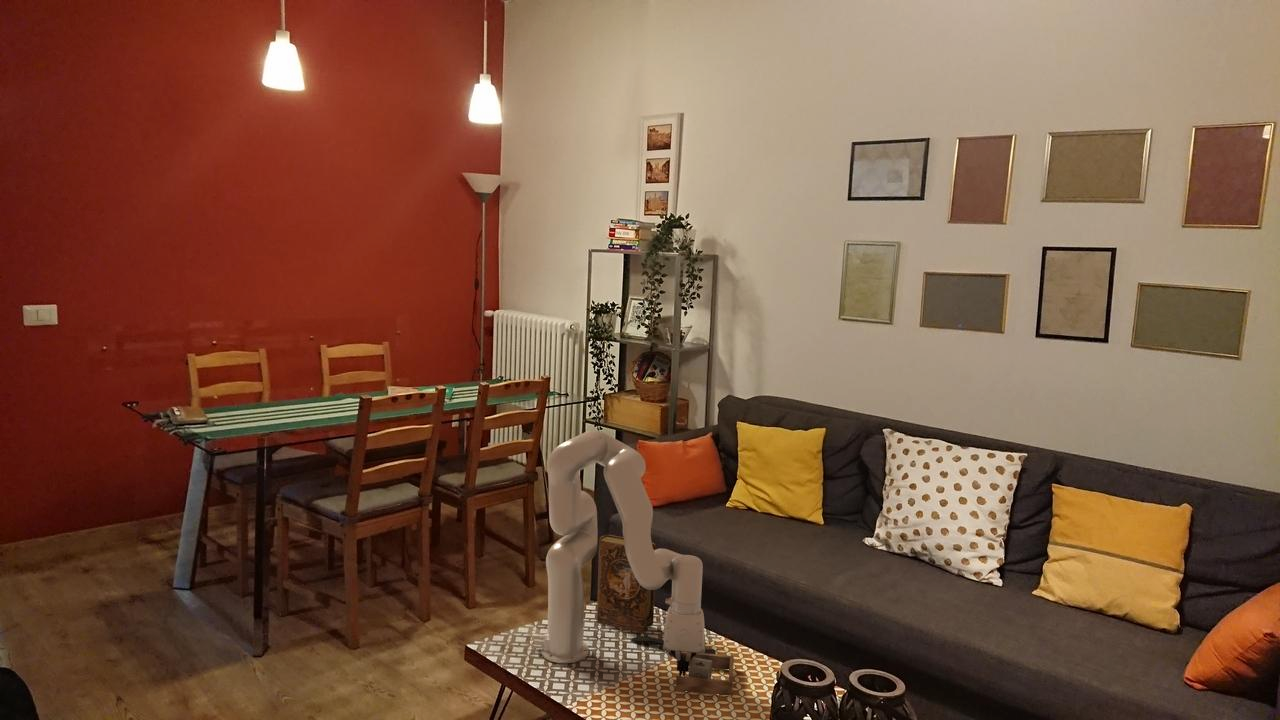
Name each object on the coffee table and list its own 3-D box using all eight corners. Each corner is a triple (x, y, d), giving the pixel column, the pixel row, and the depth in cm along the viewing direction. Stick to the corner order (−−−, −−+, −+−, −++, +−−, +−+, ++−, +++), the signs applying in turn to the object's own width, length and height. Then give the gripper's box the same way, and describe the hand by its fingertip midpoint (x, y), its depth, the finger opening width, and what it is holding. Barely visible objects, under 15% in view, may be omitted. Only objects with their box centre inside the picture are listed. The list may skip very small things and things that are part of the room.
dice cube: (688, 685, 208) (688, 666, 208) (692, 675, 213) (693, 657, 212) (707, 688, 207) (708, 669, 206) (711, 679, 212) (712, 660, 211)
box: (675, 690, 206) (676, 677, 205) (679, 663, 219) (680, 651, 219) (732, 696, 204) (733, 683, 203) (733, 668, 218) (733, 655, 217)
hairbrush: (638, 625, 235) (720, 643, 224) (638, 638, 236) (720, 656, 224) (624, 637, 228) (708, 656, 216) (624, 650, 228) (708, 669, 217)
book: (594, 622, 242) (596, 539, 239) (602, 615, 247) (605, 534, 244) (645, 634, 235) (648, 549, 232) (653, 626, 240) (656, 543, 237)
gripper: (654, 608, 207) (651, 677, 209) (714, 614, 205) (711, 683, 208) (658, 596, 214) (655, 663, 217) (716, 601, 213) (712, 669, 215)
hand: (682, 673), depth 212 cm, fingers closed
